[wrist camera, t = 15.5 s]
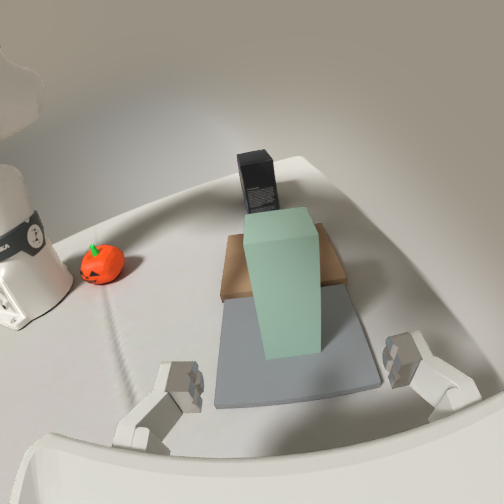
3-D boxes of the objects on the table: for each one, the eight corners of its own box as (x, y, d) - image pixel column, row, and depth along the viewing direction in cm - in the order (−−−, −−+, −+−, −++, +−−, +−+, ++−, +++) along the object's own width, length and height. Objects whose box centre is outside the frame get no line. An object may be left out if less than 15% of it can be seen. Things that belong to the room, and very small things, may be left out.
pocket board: (222, 302, 35) (220, 294, 34) (229, 242, 48) (228, 235, 47) (346, 285, 34) (347, 277, 33) (321, 229, 47) (321, 223, 46)
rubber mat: (216, 408, 22) (213, 404, 22) (226, 304, 34) (224, 299, 34) (379, 387, 21) (381, 382, 21) (343, 289, 33) (344, 283, 33)
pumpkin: (130, 282, 43) (115, 249, 39) (87, 296, 41) (69, 265, 37) (129, 256, 49) (117, 226, 45) (90, 270, 47) (75, 241, 43)
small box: (243, 199, 64) (235, 153, 59) (272, 194, 64) (265, 148, 59) (247, 217, 55) (237, 164, 50) (281, 211, 55) (274, 158, 50)
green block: (266, 359, 25) (243, 244, 19) (264, 322, 30) (244, 214, 24) (320, 352, 25) (318, 234, 19) (312, 315, 29) (306, 206, 23)
